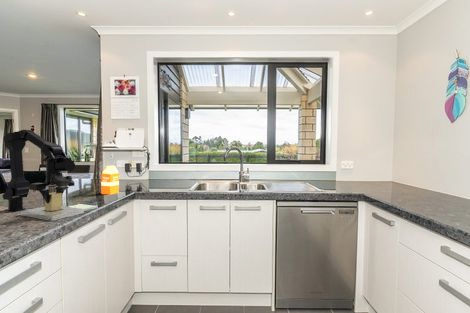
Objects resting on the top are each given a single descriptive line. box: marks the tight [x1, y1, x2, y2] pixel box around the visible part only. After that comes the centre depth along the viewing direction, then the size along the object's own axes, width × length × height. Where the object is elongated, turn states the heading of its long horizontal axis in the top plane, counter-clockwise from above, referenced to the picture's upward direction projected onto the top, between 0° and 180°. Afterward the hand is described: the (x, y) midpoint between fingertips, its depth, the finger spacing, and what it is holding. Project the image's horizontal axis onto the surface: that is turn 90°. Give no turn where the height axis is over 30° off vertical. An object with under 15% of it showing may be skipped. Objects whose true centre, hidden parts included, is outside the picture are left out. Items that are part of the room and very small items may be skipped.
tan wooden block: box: [44, 191, 63, 211], centre depth 130 cm, size 5×5×8 cm
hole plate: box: [20, 205, 85, 222], centre depth 130 cm, size 22×16×2 cm
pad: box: [67, 203, 97, 212], centre depth 143 cm, size 12×10×1 cm
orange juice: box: [100, 165, 120, 195], centre depth 192 cm, size 8×9×20 cm
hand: (53, 202), depth 130 cm, fingers closed on tan wooden block, 5 cm apart
